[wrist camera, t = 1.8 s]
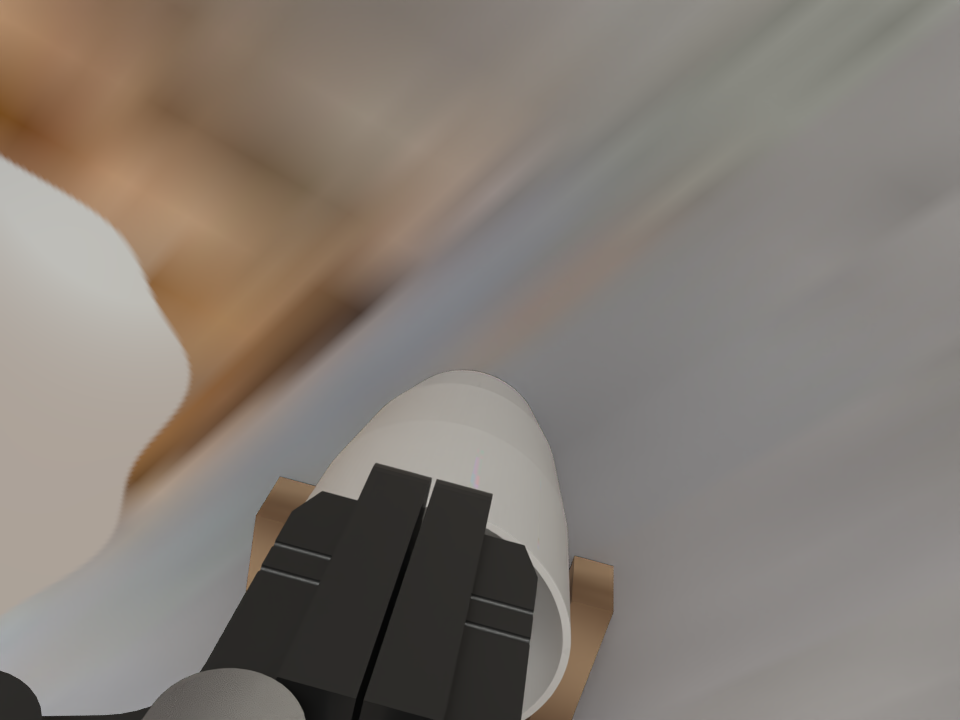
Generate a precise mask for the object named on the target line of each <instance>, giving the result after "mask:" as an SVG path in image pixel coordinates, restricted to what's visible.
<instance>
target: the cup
mask: <svg viewBox="0 0 960 720" xmlns="http://www.w3.org/2000/svg"><path fill="white" fill-rule="evenodd" d="M375 463H379V464H383V465H387V466H391V467H394V468H398V469H402V470H405V471H409V472H413V473H417V474H420V475H424V476H428V477H431V478H432V482H431V487H430V491H429V496H428V500H427V504H426V508H425V512H426V509H427V506H428V503H429V500H430V497H431V494H432V491H433V488H434V485H435V482H436V480H437V479H440V480H443V481H447V482H451V483H455V484H458V485H462V486H466V487H469V488H473V489H477V490H481V491H484V492H488V493H492V494H493V497H492V502H491V506H490V511H489V515H488V520H487V525H486V529H485V535H489V536H492V537H496V538H500V539H503V540H507V541H511V542H515V543H518V544H522V545H525V547H526V550H527V552H528V555H529V557H530V559H531V562H532V564H533V567H534V569H535V572H536V574H537V576H538V582H537V591H536V599H535V608H534V613H533V624H532V633H531V639H530V643H529V645H530V649H529V658H528V666H527V675H526V683H525V691H524V700H523V708H522V717H521V720H525V719H527V718H528V717H530V716H531V715H532V714H534V713H535V712H536V711H537V710H538V709H539V708H540V707H541V706H542V705H543V704H544V703H545V702H546V701H547V700H548V699H549V698H550V697H551V695H552V694H553V693H554V691H555V690H556V688H557V687H558V685H559V683H560V681H561V679H562V677H563V675H564V673H565V670H566V667H567V664H568V660H569V655H570V647H571V623H570V588H569V554H568V529H567V522H566V517H565V512H564V507H563V502H562V498H561V493H560V488H559V483H558V478H557V473H556V468H555V463H554V459H553V455H552V451H551V449H550V446H549V444H548V442H547V440H546V438H545V436H544V434H543V432H542V430H541V428H540V426H539V424H538V422H537V420H536V418H535V416H534V414H533V413H532V411H531V409H530V407H529V405H528V404H527V402H526V401H525V400H524V398H523V397H522V396H521V395H520V394H519V393H518V392H517V391H516V390H515V389H514V388H512V387H511V386H510V385H508V384H507V383H505V382H504V381H502V380H500V379H498V378H496V377H494V376H491V375H488V374H485V373H482V372H477V371H470V370H455V371H448V372H443V373H440V374H437V375H434V376H432V377H430V378H428V379H426V380H425V381H423V382H421V383H419V384H418V385H416V386H414V387H413V388H411V389H409V390H408V391H406V392H404V393H403V394H401V395H399V396H398V397H396V398H395V399H393V400H392V401H390V402H389V403H388V404H386V405H385V406H384V407H383V408H382V409H381V410H380V411H379V412H378V413H377V414H376V415H375V416H374V417H373V419H372V420H371V421H370V422H369V423H368V424H367V425H366V426H365V427H364V428H363V429H362V430H361V431H360V432H359V433H358V434H357V436H356V437H355V438H354V439H353V440H352V441H351V442H350V443H349V444H348V445H347V446H346V447H345V448H344V449H343V450H342V451H341V453H340V454H339V455H338V456H337V457H336V458H335V459H334V460H333V462H332V463H331V464H330V466H329V467H328V469H327V470H326V472H325V473H324V475H323V476H322V478H321V479H320V481H319V482H318V484H317V485H316V487H315V488H314V490H313V491H312V493H311V494H310V496H309V498H308V499H307V501H308V500H309V499H311V498H312V497H314V496H315V495H317V494H318V493H320V492H321V491H325V492H329V493H332V494H336V495H340V496H344V497H347V498H351V499H355V500H358V498H359V496H360V494H361V492H362V489H363V487H364V485H365V483H366V481H367V479H368V476H369V474H370V472H371V470H372V468H373V466H374V464H375ZM425 512H424V516H425ZM424 516H423V519H424ZM422 522H423V520H422Z"/></svg>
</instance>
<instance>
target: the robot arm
mask: <svg viewBox="0 0 960 720" xmlns="http://www.w3.org/2000/svg"><path fill="white" fill-rule="evenodd" d="M431 482H432V478H431V477H428V476H424V475H420V474H417V473H413V472H409V471H405V470H402V469H398V468H394V467H391V466H387V465H383V464H379V463H375V464H374V466H373V468H372V470H371V472H370V474H369V476H368V479H367V481H366V483H365V485H364V487H363V489H362V492H361V494H360V496H359V498H358V500H355V499H351V498H347V497H344V496H340V495H336V494H332V493H329V492H325V491H321V492H320V493H318V494H317V495H315V496H314V497H312V498H311V499H309V500H308V501H306V502H305V503H303V504H302V505H300V506H299V507H297V508H296V509H294V510H293V511H292V512H291V513H290V515H289V517H288V519H287V521H286V522H285V524H284V526H283V528H282V529H281V531H280V533H279V535H278V536H277V538H276V540H275V544H274V546H272V547H271V549H270V551H269V552H268V554H267V556H266V558H265V559H264V561H263V563H262V565H261V569H260V571H258V572H257V574H256V575H255V577H254V579H253V581H252V582H251V584H250V586H249V588H248V590H247V591H246V593H245V595H244V597H243V598H242V600H241V602H240V604H239V605H238V607H237V609H236V611H235V613H234V614H233V616H232V618H231V620H230V621H229V623H228V625H227V627H226V628H225V630H224V632H223V634H222V636H221V637H220V639H219V641H218V643H217V644H216V646H215V648H214V650H213V651H212V653H211V655H210V657H209V659H208V660H207V662H206V664H205V665H204V667H203V668H202V670H201V671H200V673H196V674H194V675H191V676H189V677H187V678H184V679H182V680H181V681H179V682H177V683H176V684H174V685H172V686H171V687H170V688H168V689H167V690H166V691H165V692H164V693H163V694H161V695H160V697H159V698H158V699H157V700H156V701H155V702H154V704H153V705H152V706H151V707H147V708H144V709H141V710H138V711H133V712H128V713H123V714H114V715H90V716H42V714H41V707H40V704H39V702H38V700H37V697H36V696H35V694H34V693H33V692H32V690H31V689H30V688H29V687H28V686H27V685H26V684H25V683H23V682H22V681H21V680H20V679H18V678H16V677H14V676H12V675H10V674H8V673H5V672H2V671H0V720H521V717H522V708H523V700H524V691H525V683H526V675H527V666H528V658H529V649H530V645H529V643H530V639H531V633H532V624H533V613H534V608H535V599H536V591H537V582H538V576H537V574H536V572H535V569H534V567H533V564H532V562H531V559H530V557H529V555H528V552H527V550H526V547H525V545H522V544H518V543H515V542H511V541H507V540H503V539H500V538H496V537H492V536H489V535H485V529H486V525H487V520H488V515H489V511H490V506H491V502H492V497H493V494H492V493H488V492H484V491H481V490H477V489H473V488H469V487H466V486H462V485H458V484H455V483H451V482H447V481H443V480H440V479H437V480H436V482H435V485H434V488H433V491H432V494H431V497H430V500H429V503H428V506H427V509H426V512H425V508H426V504H427V500H428V496H429V491H430V487H431ZM424 512H425V516H424ZM423 516H424V519H423ZM422 520H423V522H422Z"/></svg>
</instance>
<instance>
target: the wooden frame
mask: <svg viewBox="0 0 960 720" xmlns="http://www.w3.org/2000/svg"><path fill="white" fill-rule="evenodd" d="M315 487H316V486H313V485H309V484H305V483H301V482H298V481H294V480H290V479H287V478H283V477H279V479H278V481H277V482H276V484H275V485H274V487H273V489H272V490H271V492H270V494H269V495H268V497H267V498H266V500H265V502H264V503H263V505H262V507H261V508H260V510H259V511H258V513H257V515H256V520H255V527H254V535H253V542H252V550H251V557H250V565H249V572H248V580H247V587H246V591H247V590H248V588H249V586H250V584H251V582H252V581H253V579H254V577H255V575H256V574H257V572H258V571H260V569H261V565H262V563H263V561H264V559H265V558H266V556H267V554H268V552H269V551H270V549H271V547H272V546H274V544H275V540H276V538H277V536H278V535H279V533H280V531H281V529H282V528H283V526H284V524H285V522H286V521H287V519H288V517H289V515H290V513H291V512H292V511H293V510H294V509H296V508H297V507H299V506H300V505H302V504H303V503H305V502H306V501H307V499H308V498H309V496H310V494H311V493H312V491H313V490H314V488H315ZM569 588H570V623H571V647H570V655H569V660H568V664H567V667H566V670H565V673H564V675H563V677H562V679H561V681H560V683H559V685H558V687H557V688H556V690H555V691H554V693H553V694H552V695H551V697H550V698H549V699H548V700H547V701H546V702H545V703H544V704H543V705H542V706H541V707H540V708H539V709H538V710H537V711H536V712H535V713H534V714H532V715H531V716H530V717H528V718H527V719H525V720H572V717H573V715H574V712H575V710H576V707H577V704H578V702H579V699H580V697H581V694H582V691H583V689H584V686H585V684H586V681H587V679H588V676H589V673H590V671H591V668H592V666H593V663H594V661H595V658H596V655H597V653H598V650H599V648H600V645H601V642H602V640H603V637H604V635H605V632H606V630H607V627H608V624H609V622H610V619H611V617H612V614H613V566H610V565H607V564H603V563H599V562H596V561H592V560H588V559H584V558H581V557H577V556H574V559H573V562H572V565H571V568H570V570H569Z"/></svg>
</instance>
